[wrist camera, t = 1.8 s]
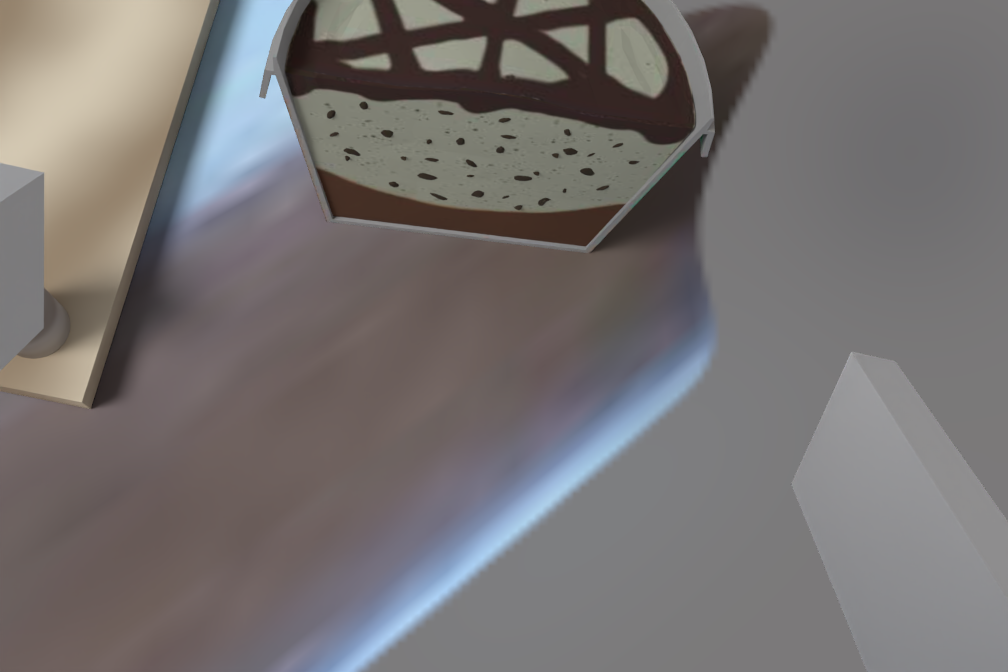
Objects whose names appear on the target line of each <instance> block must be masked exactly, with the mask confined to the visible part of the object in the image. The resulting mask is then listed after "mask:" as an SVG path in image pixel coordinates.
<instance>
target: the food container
mask: <svg viewBox="0 0 1008 672" xmlns="http://www.w3.org/2000/svg"><path fill="white" fill-rule="evenodd" d="M271 75H276V77H277V80H278V83H279V86H280V89H281V92H282V95H283V98H284V100H285V103H286V106H287V109H288V112H289V115H290V118H291V121H292V124H293V126H294V129H295V132H296V135H297V138H298V141H299V144H300V147H301V150H302V152H303V155H304V158H305V161H306V164H307V167H308V170H309V173H310V175H311V178H312V181H313V184H314V187H315V190H316V193H317V196H318V199H319V201H320V204H321V207H322V210H323V213H324V216H325V219H326V222H334V223H343V224H351V225H359V226H368V227H376V228H384V229H393V230H401V231H409V232H418V233H426V234H434V235H443V236H451V237H459V238H468V239H476V240H484V241H493V242H501V243H509V244H518V245H526V246H534V247H542V248H551V249H559V250H567V251H576V252H584V253H590V252H591V251H592V250H593V249H594V248H595V247H596V246H597V245H598V244H599V243H600V242H601V241H602V240H603V239H604V238H605V237H606V235H607V234H608V233H609V232H610V231H611V230H612V229H613V228H614V227H615V226H616V225H617V224H618V223H619V222H620V221H621V220H622V219H623V218H624V217H625V216H626V214H627V213H628V212H629V211H630V210H631V209H632V208H633V207H634V206H635V205H636V204H637V203H638V202H639V201H640V200H641V199H642V198H643V197H644V196H645V195H646V193H647V192H648V191H649V190H650V189H651V188H652V187H653V186H654V185H655V184H656V183H657V182H658V181H659V180H660V179H661V178H662V177H663V176H664V175H665V173H666V172H667V171H668V170H669V169H670V168H671V167H672V166H673V165H674V164H675V163H676V162H677V161H678V160H679V159H680V158H681V157H682V156H683V155H684V154H685V152H686V151H687V150H688V149H689V148H690V147H691V146H692V145H693V144H694V143H695V142H696V141H697V140H698V139H699V138H700V148H701V157H707V156H708V153H709V150H710V146H711V143H712V140H713V137H714V134H715V126H714V110H713V99H712V89H711V85H710V81H709V77H708V73H707V69H706V65H705V61H704V58H703V56H702V54H701V51H700V49H699V47H698V44H697V42H696V39H695V37H694V35H693V32H692V31H691V29H690V27H689V26H688V24H687V22H686V21H685V19H684V17H683V16H682V14H681V13H680V11H679V9H678V8H677V6H676V5H675V3H674V2H673V1H672V0H293V2H292V3H291V5H290V6H289V7H288V9H287V10H286V12H285V14H284V16H283V19H282V21H281V23H280V25H279V27H278V29H277V31H276V34H275V36H274V38H273V40H272V44H271V48H270V51H269V55H268V59H267V63H266V66H265V70H264V75H263V80H262V85H261V91H260V96H259V97H261V98H265V97H266V93H267V89H268V86H269V82H270V78H271Z"/></svg>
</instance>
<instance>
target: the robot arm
mask: <svg viewBox="0 0 1008 672" xmlns="http://www.w3.org/2000/svg"><path fill="white" fill-rule="evenodd" d="M43 328H44V172H39V171H35V170H30V169H26V168H21V167H17V166H12V165H8V164H3V163H0V371H1V370H2V369H3V368H4V367H5V366H6V365H7V364H8V363H9V362H10V361H11V360H12V359H13V358H14V357H15V356H16V355H17V354H18V353H19V352H20V351H21V350H22V349H23V348H24V347H25V346H26V345H27V344H28V343H29V342H30V341H31V340H32V339H33V338H34V337H35V336H36V335H37V334H38V333H39V332H40V331H41V330H42V329H43ZM791 485H792V488H793V490H794V492H795V495H796V497H797V500H798V502H799V505H800V507H801V510H802V512H803V514H804V517H805V520H806V522H807V524H808V527H809V530H810V532H811V535H812V537H813V539H814V542H815V544H816V547H817V549H818V552H819V554H820V557H821V559H822V562H823V564H824V566H825V569H826V571H827V574H828V576H829V579H830V581H831V584H832V586H833V589H834V591H835V594H836V596H837V599H838V601H839V604H840V606H841V609H842V611H843V613H844V616H845V618H846V621H847V623H848V626H849V628H850V631H851V633H852V635H853V638H854V640H855V643H856V646H857V648H858V651H859V653H860V656H861V658H862V661H863V663H864V665H865V668H866V670H867V672H1008V521H1007V519H1006V518H1005V516H1004V515H1003V514H1002V512H1001V511H1000V509H999V508H998V506H997V505H996V504H995V502H994V501H993V499H992V498H991V497H990V495H989V494H988V492H987V491H986V489H985V488H984V486H983V485H982V484H981V482H980V481H979V479H978V478H977V477H976V475H975V474H974V472H973V471H972V469H971V468H970V467H969V465H968V464H967V462H966V461H965V459H964V458H963V457H962V455H961V454H960V452H959V451H958V450H957V448H956V447H955V445H954V444H953V442H952V441H951V440H950V438H949V437H948V435H947V434H946V433H945V431H944V430H943V428H942V427H941V425H940V424H939V423H938V421H937V420H936V418H935V417H934V415H933V414H932V413H931V411H930V410H929V408H928V407H927V405H926V404H925V403H924V401H923V400H922V398H921V397H920V396H919V394H918V393H917V391H916V390H915V388H914V387H913V386H912V384H911V383H910V381H909V380H908V378H907V377H906V376H905V374H904V373H903V371H902V370H901V369H900V367H899V366H898V364H897V363H896V362H895V361H893V360H888V359H883V358H879V357H875V356H870V355H866V354H861V353H857V352H851V354H850V355H849V358H848V360H847V362H846V364H845V366H844V369H843V371H842V373H841V375H840V377H839V380H838V382H837V384H836V386H835V389H834V391H833V393H832V395H831V397H830V399H829V402H828V404H827V406H826V408H825V410H824V413H823V415H822V417H821V419H820V421H819V424H818V426H817V428H816V430H815V432H814V435H813V437H812V439H811V441H810V443H809V446H808V448H807V450H806V452H805V454H804V457H803V459H802V461H801V463H800V466H799V468H798V470H797V472H796V474H795V477H794V479H793V481H792V483H791Z"/></svg>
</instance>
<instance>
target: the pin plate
mask: <svg viewBox="0 0 1008 672" xmlns="http://www.w3.org/2000/svg"><path fill="white" fill-rule="evenodd" d="M219 2H220V0H0V163H3V164H8V165H12V166H17V167H21V168H26V169H30V170H35V171H39V172H44V328H43V329H42V330H41V331H40V332H39V333H38V334H37V335H36V336H35V337H34V338H33V339H32V340H31V341H30V342H29V343H28V344H27V345H26V346H25V347H24V348H23V349H22V350H21V351H20V352H19V353H18V354H17V355H16V356H15V357H14V358H13V359H12V360H11V361H10V362H9V363H8V364H7V365H6V366H5V367H4V368H3V369H2V370H1V371H0V391H3V392H8V393H13V394H18V395H23V396H28V397H33V398H38V399H43V400H48V401H53V402H58V403H63V404H68V405H73V406H78V407H83V408H88V409H91V406H92V403H93V400H94V397H95V394H96V390H97V387H98V384H99V381H100V378H101V375H102V371H103V368H104V365H105V362H106V359H107V356H108V352H109V349H110V346H111V343H112V340H113V337H114V334H115V330H116V327H117V324H118V321H119V318H120V315H121V311H122V308H123V305H124V302H125V299H126V296H127V292H128V289H129V286H130V283H131V280H132V277H133V273H134V270H135V267H136V264H137V261H138V258H139V254H140V251H141V248H142V245H143V242H144V239H145V236H146V232H147V229H148V226H149V223H150V220H151V217H152V213H153V210H154V207H155V204H156V201H157V198H158V194H159V191H160V188H161V185H162V182H163V179H164V175H165V172H166V169H167V166H168V163H169V160H170V156H171V153H172V150H173V147H174V144H175V141H176V138H177V134H178V131H179V128H180V125H181V122H182V119H183V115H184V112H185V109H186V106H187V103H188V100H189V96H190V93H191V90H192V87H193V84H194V81H195V77H196V74H197V71H198V68H199V65H200V62H201V58H202V55H203V52H204V49H205V46H206V43H207V40H208V36H209V33H210V30H211V27H212V24H213V21H214V17H215V14H216V11H217V8H218V5H219Z"/></svg>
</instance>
